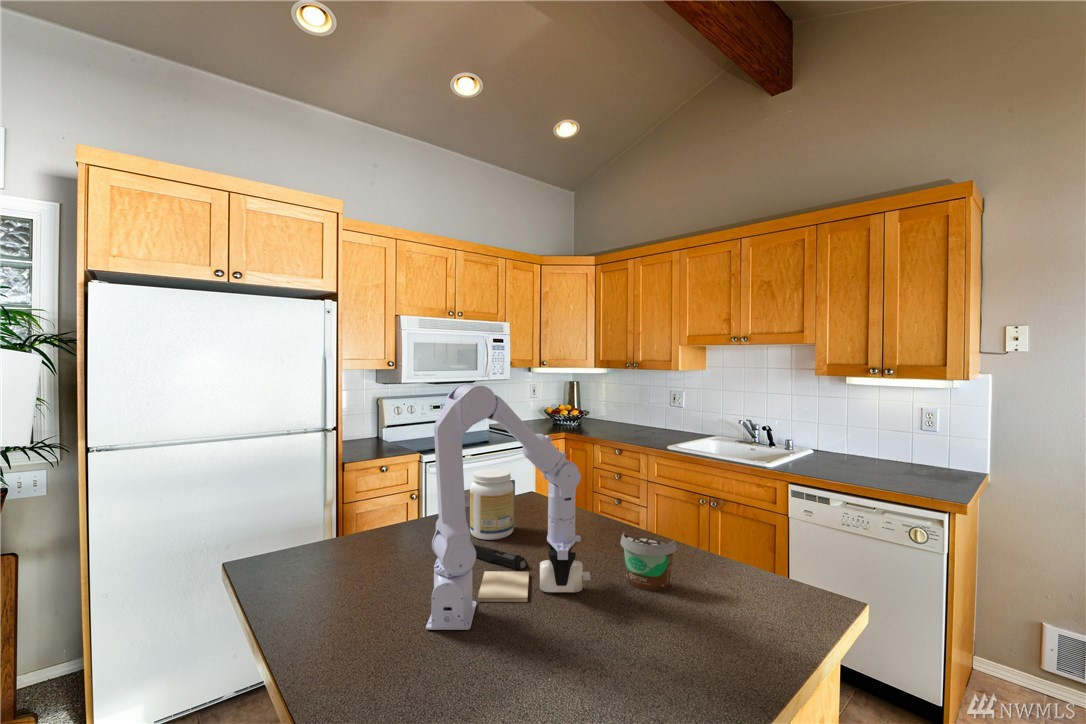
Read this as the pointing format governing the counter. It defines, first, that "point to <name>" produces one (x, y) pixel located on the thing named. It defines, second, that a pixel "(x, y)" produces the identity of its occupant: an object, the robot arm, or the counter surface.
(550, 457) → the robot arm
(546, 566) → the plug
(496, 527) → the supplement tub
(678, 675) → the counter surface
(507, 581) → the cutting board
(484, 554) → the electric trimmer
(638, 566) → the food container
